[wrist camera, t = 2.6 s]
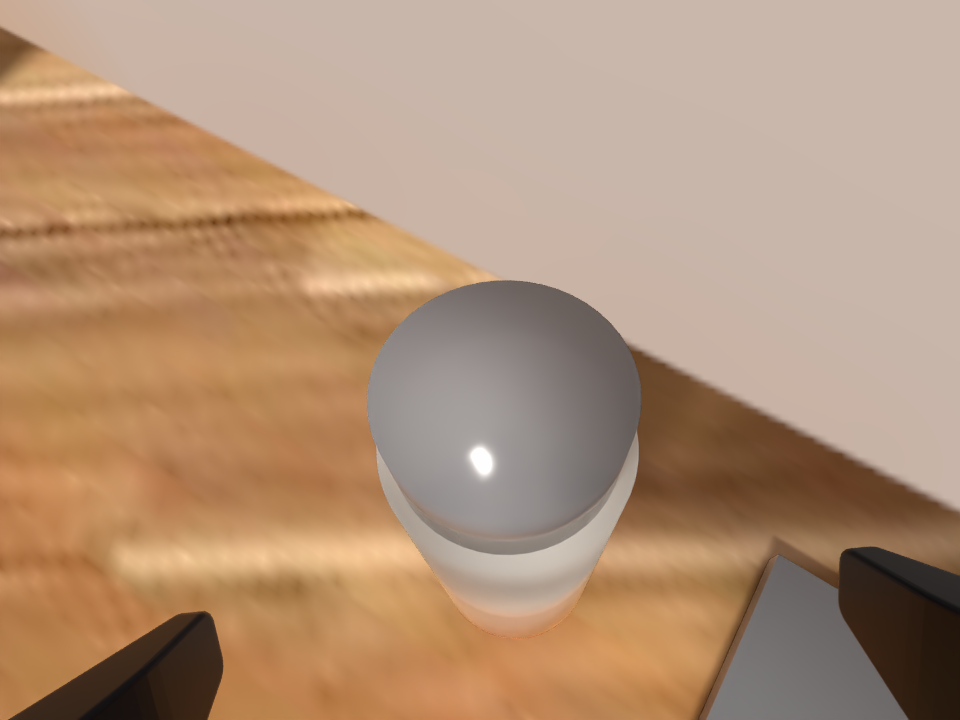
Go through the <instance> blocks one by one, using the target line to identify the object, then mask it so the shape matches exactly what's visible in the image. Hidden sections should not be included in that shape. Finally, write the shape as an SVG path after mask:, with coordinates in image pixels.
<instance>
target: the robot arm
mask: <svg viewBox="0 0 960 720" xmlns="http://www.w3.org/2000/svg"><path fill="white" fill-rule="evenodd" d="M838 604H839V609H840V612H841V614H842V617H843V619H844V620H845V622H846V624H847V625H848V627H849V628H850V630H851V631H852V633H853V635H854V636H855V638H856V639H857V641H858V642H859V644H860V645H861V647H862V649H863V650H864V652H865V653H866V655H867V656H868V658H869V659H870V661H871V663H872V664H873V666H874V667H875V669H876V670H877V672H878V673H879V675H880V677H881V678H882V680H883V681H884V683H885V684H886V686H887V688H888V689H889V691H890V692H891V694H892V695H893V697H894V698H895V700H896V702H897V703H898V705H899V706H900V708H901V709H902V711H903V712H904V714H905V715H906V717H907V718H908V720H960V576H959V575H956V574H953V573H950V572H947V571H944V570H941V569H939V568H936V567H933V566H930V565H927V564H924V563H921V562H918V561H916V560H913V559H910V558H907V557H904V556H901V555H898V554H895V553H893V552H890V551H887V550H884V549H881V548H878V547H871V546H870V547H860V548H851V549H846V550H845V551H843V552H842V554H841V556H840V563H839V586H838ZM222 674H223V657H222V653H221V649H220V645H219V640H218V636H217V632H216V628H215V624H214V620H213V617H212V616H211V614H209V613H208V612H206V611H201V612H191V613H181V614H178V615H176V616H174V617H173V618H171V619H169V620H168V621H166V622H165V623H163V624H161V625H160V626H158V627H157V628H155V629H153V630H152V631H150V632H149V633H147V634H145V635H144V636H142V637H140V638H139V639H137V640H136V641H134V642H132V643H131V644H129V645H128V646H126V647H124V648H123V649H121V650H120V651H118V652H116V653H115V654H113V655H112V656H110V657H108V658H107V659H105V660H104V661H102V662H100V663H99V664H97V665H95V666H94V667H92V668H91V669H89V670H87V671H86V672H84V673H83V674H81V675H79V676H78V677H76V678H75V679H73V680H71V681H70V682H68V683H67V684H65V685H63V686H62V687H60V688H58V689H57V690H55V691H54V692H52V693H50V694H49V695H47V696H46V697H44V698H42V699H41V700H39V701H38V702H36V703H34V704H33V705H31V706H30V707H28V708H26V709H25V710H23V711H22V712H20V713H18V714H17V715H15V716H13V717H12V718H10V719H9V720H207V719H208V717H209V714H210V711H211V708H212V705H213V702H214V699H215V696H216V693H217V690H218V687H219V685H220V682H221V678H222Z"/></svg>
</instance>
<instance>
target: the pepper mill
mask: <svg viewBox="0 0 960 720" xmlns="http://www.w3.org/2000/svg"><path fill="white" fill-rule="evenodd" d="M367 413H368V420H369V426H370V429H371V433H372V436H373V440H374V442H375V444H376V446H377V466H378V474H379V478H380V482H381V485H382V489H383V492H384V494H385V496H386V499H387V501H388V503H389V505H390V507H391V509H392V510H393V512H394V514H395V515H396V517H397V518H398V520H399V521H400V523H401V524H402V526H403V527H404V529H405V530H406V532H407V533H408V535H409V536H410V538H411V540H412V541H413V543H414V544H415V546H416V547H417V549H418V550H419V552H420V553H421V555H422V556H423V558H424V559H425V561H426V562H427V564H428V565H429V567H430V568H431V570H432V571H433V573H434V574H435V576H436V577H437V579H438V580H439V582H440V583H441V585H442V586H443V588H444V589H445V591H446V592H447V594H448V595H449V597H450V598H451V600H452V601H453V603H454V604H455V606H456V607H457V609H458V610H459V611H460V612H461V614H462V615H463V616H464V617H465V618H466V619H467V620H468V621H470V622H471V623H472V624H473V625H475V626H476V627H478V628H479V629H481V630H483V631H485V632H487V633H489V634H492V635H495V636H498V637H504V638H513V639H520V638H529V637H533V636H537V635H540V634H542V633H544V632H547V631H549V630H550V629H552V628H554V627H555V626H557V625H558V624H559V623H561V622H562V621H563V620H564V619H565V618H566V617H567V616H568V615H569V614H570V613H571V612H572V610H573V609H574V607H575V606H576V604H577V603H578V601H579V599H580V597H581V595H582V592H583V590H584V588H585V586H586V584H587V582H588V580H589V578H590V576H591V574H592V572H593V570H594V568H595V566H596V564H597V562H598V560H599V558H600V556H601V554H602V552H603V550H604V548H605V546H606V544H607V541H608V539H609V537H610V535H611V533H612V531H613V529H614V527H615V525H616V523H617V521H618V519H619V517H620V515H621V513H622V511H623V509H624V507H625V505H626V503H627V501H628V499H629V497H630V495H631V491H632V488H633V485H634V482H635V479H636V474H637V468H638V462H639V443H638V435H637V428H638V424H639V418H640V413H641V386H640V379H639V374H638V371H637V367H636V364H635V361H634V359H633V357H632V354H631V352H630V350H629V348H628V346H627V345H626V343H625V342H624V340H623V338H622V337H621V335H620V334H619V333H618V332H617V330H616V329H615V328H614V327H613V326H612V324H611V323H610V322H609V321H608V320H607V319H606V318H604V317H603V316H602V315H601V314H600V313H599V312H598V311H596V310H595V309H594V308H592V307H591V306H589V305H588V304H587V303H585V302H583V301H581V300H580V299H578V298H576V297H574V296H573V295H570V294H568V293H566V292H563V291H561V290H558V289H555V288H552V287H548V286H545V285H541V284H536V283H530V282H523V281H490V282H481V283H476V284H472V285H467V286H463V287H460V288H457V289H454V290H451V291H449V292H447V293H444V294H442V295H440V296H438V297H436V298H434V299H432V300H430V301H429V302H427V303H425V304H424V305H422V306H421V307H419V308H418V309H417V310H415V311H414V312H413V313H411V314H410V315H409V316H408V317H407V318H406V319H405V320H404V321H403V322H401V323H400V324H399V325H398V327H397V328H396V329H395V330H394V331H393V333H392V334H391V335H390V336H389V338H388V339H387V341H386V342H385V344H384V345H383V347H382V348H381V350H380V352H379V354H378V357H377V359H376V361H375V363H374V366H373V369H372V372H371V375H370V379H369V385H368V391H367Z"/></svg>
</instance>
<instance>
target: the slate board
mask: <svg viewBox="0 0 960 720" xmlns="http://www.w3.org/2000/svg"><path fill="white" fill-rule="evenodd" d="M699 720H908V718H907V717H906V715H905V714H904V712H903V711H902V709H901V708H900V706H899V705H898V703H897V702H896V700H895V698H894V697H893V695H892V694H891V692H890V691H889V689H888V688H887V686H886V684H885V683H884V681H883V680H882V678H881V677H880V675H879V673H878V672H877V670H876V669H875V667H874V666H873V664H872V663H871V661H870V659H869V658H868V656H867V655H866V653H865V652H864V650H863V649H862V647H861V645H860V644H859V642H858V641H857V639H856V638H855V636H854V635H853V633H852V631H851V630H850V628H849V627H848V625H847V624H846V622H845V620H844V619H843V617H842V614H841V612H840V609H839V604H838V589H837V588H835V587H833V586H832V585H830V584H828V583H827V582H825V581H823V580H821V579H820V578H818V577H816V576H815V575H813V574H811V573H810V572H808V571H806V570H805V569H803V568H801V567H800V566H798V565H796V564H794V563H793V562H791V561H789V560H788V559H786V558H784V557H783V556H781V555H779V554H778V555H776V556H775V557H773V558H771V559H770V560H769V562H768V564H767V566H766V568H765V571H764V573H763V575H762V577H761V580H760V582H759V584H758V586H757V589H756V591H755V593H754V595H753V598H752V600H751V602H750V604H749V607H748V609H747V611H746V614H745V616H744V618H743V620H742V623H741V625H740V627H739V629H738V632H737V634H736V636H735V638H734V641H733V643H732V645H731V647H730V650H729V652H728V654H727V656H726V659H725V661H724V663H723V665H722V668H721V670H720V672H719V675H718V677H717V679H716V681H715V684H714V686H713V688H712V690H711V693H710V695H709V697H708V699H707V702H706V704H705V706H704V708H703V711H702V713H701V715H700V717H699Z"/></svg>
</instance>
